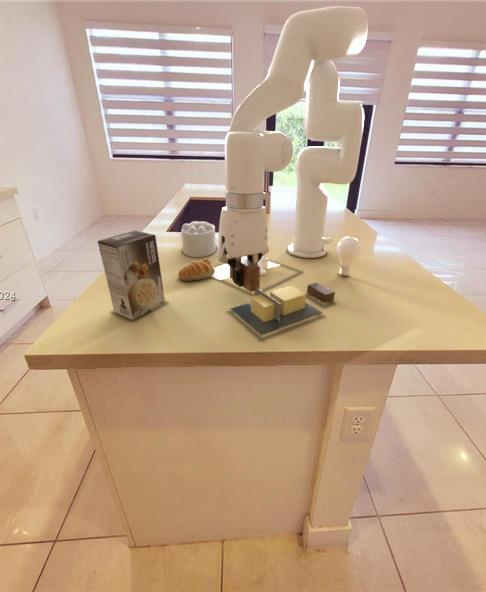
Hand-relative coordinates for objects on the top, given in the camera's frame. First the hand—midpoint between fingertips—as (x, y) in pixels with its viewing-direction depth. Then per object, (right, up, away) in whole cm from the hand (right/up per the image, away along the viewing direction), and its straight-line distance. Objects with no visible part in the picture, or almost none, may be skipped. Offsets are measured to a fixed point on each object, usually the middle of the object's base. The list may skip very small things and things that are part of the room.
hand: (243, 282), depth 72 cm
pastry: (-13, +2, +13) cm, 18 cm away
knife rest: (+18, -4, +3) cm, 19 cm away
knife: (+2, -5, -2) cm, 6 cm away
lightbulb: (+27, +3, +16) cm, 32 cm away
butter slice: (+4, -7, -6) cm, 10 cm away
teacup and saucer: (+2, +3, +16) cm, 17 cm away
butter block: (+10, -5, -3) cm, 11 cm away
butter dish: (+7, -7, -4) cm, 11 cm away
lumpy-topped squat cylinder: (-16, +12, +31) cm, 37 cm away
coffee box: (-23, -6, -2) cm, 24 cm away
